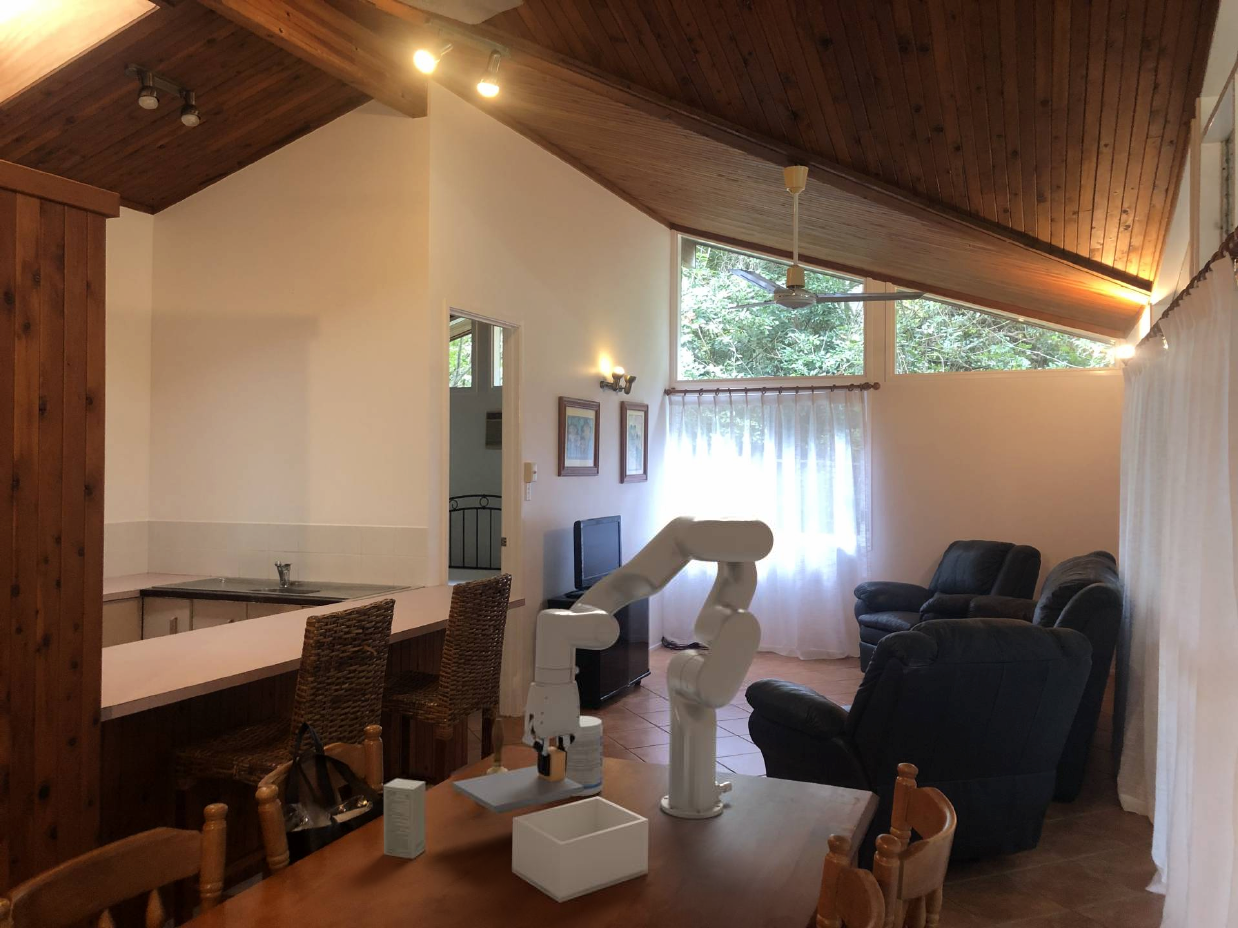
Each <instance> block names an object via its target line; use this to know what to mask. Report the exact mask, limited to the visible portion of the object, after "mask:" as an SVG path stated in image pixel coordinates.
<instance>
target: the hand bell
mask: <svg viewBox="0 0 1238 928" xmlns="http://www.w3.org/2000/svg"><path fill="white" fill-rule="evenodd" d="M491 739H492V745H493V763H492V764H493V765H492V767H490V768H488V769H487V770H486V775H491V774H496V773H501V772H506V771H509V770H508V769H507V768H505V767H504V766H503V764H502V757H503V756H502V754H503V753H502V750H503V745H504V742H505V728H504V724H503V719H502V718H495V719H494V724H493V727H492V731H491Z"/></svg>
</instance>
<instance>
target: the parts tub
mask: <svg viewBox="0 0 1238 928" xmlns="http://www.w3.org/2000/svg"><path fill="white" fill-rule="evenodd" d="M511 847H512V853H511V854H512V855H511V859H512V860H511V872H512V873H513V874H515V876H516V875H517V876H518V877H519V878H520V879H522V880H524V881H525V882H527V883H528V884H530V885H531V886H533V887H534V888H536V889H537V890H539V891H541V892H543V893H544V894H546V895H547V896H548V897H550V898H552V899H553V900H555V901H557V902H558V903H559V904H560V903H564V902H566V901H569V900H571V899H572V900H573V899H574V898H578V897H580V896H583V895H587V894H591V893H593V892H596V891H599V890H602V889H604V888H607V887H611V886H614V885H617V884H620V883H623V882H626V881H628V880H632V879H635V878H638V877H641V876H643V875H647V874H648V873H649V871H648V870H649V868H648V866H649V819H648V818H647V817H644V816H641V815H640V814H638V813H635V812H633V811H630V810H629V809H627V808H624V807H622V806H620V805H618V804H616V803H614V802H611V801H609V800H608V799H605V798H603V797H601V796H595V797H594V796H592V797H590V798H586V799H582V800H581V799H580V800H578V801H573V802H570V803H567V804H563V805H558V806H555V807H550V808H547V809H546V808H545V809H542V810H540V811H535V812H532V813H531V812H529V813H527V814H523V815H520V816H515V817H513V818H512V846H511Z"/></svg>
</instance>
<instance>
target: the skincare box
mask: <svg viewBox="0 0 1238 928" xmlns="http://www.w3.org/2000/svg"><path fill="white" fill-rule="evenodd" d="M426 818H427V817H426V781H421V780H416V779H415V780H414V779H413V780H412V779H406V778H405V779H404V778H398V777H397V778H395V779H392V780H391V781H389V782H387V783H385V784H383V854H384V855H387V856H392V857H399V858H405V859H413V860H414V859H415V858H416V857H418V856H419V855H420V854H421V853H423V852H424V851H425V850H427V848H426V845H427V844H426V837H427V836H426V835H427V834H426V833H427V832H426V825H427V823H426Z"/></svg>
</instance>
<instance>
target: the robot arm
mask: <svg viewBox="0 0 1238 928" xmlns="http://www.w3.org/2000/svg"><path fill="white" fill-rule="evenodd" d="M773 546H774V534H773V531H772V530H771V528H770V526H769V525H768V524H766V522H764V521H762V520H759V519H756V518H748V517H746V518H745V517H738V516H737V517H736V516H725V517H722V518H710V517H699V516H689V515H688V516H687V515H682V516H677V517H675V518H673V519H672V520H670V521H669V522H668V523H667V524H666V525H665V526H664V527H662V529H661V530H660V531H659V532H658V533H657V534H656V535H655V536H654V537H652V539H651V540H650V541H649V542H648V543H647V544H646V545H645V546H643V548H641V549H640V550H639V551H638V552H637V553H636V554H635V555H634V557H632V558H631V559H630V560H629V561H628V562H627V563H625V564H623V565H621V566H620V567H618V568H617V569H615V570H614V571H612V572H611V573H610V574H608V575H606V576H605V577H603V578H601V579H600V580H599V581H597V582H596V583H595V584H593V585H592V586H591V587H590V588H589V589H588V590H586V591H585V593H583V595H582V596H580V598H579V599H578V600H576V601H575V602H574V604H572V606H571V607H570V608H569V609H564V608H560V609H559V608H549V609H547V608H546V609H543V610H541V611H540V612H539V613H538V614H537V616H536V617H537V618H536V633H535V636H536V638H535V662H534V663H535V669H534V682H531V683H530V686H529V689H528V694H527V699H526V705H525V714H524V734H523V735H522V736H523V737H522V739H521V740H522V743H523V744H526V745H529V746H531V747H532V748H533V749H534V751H535V752H536V753H537V762H536V763H537V764H536V765H537V769H538V773H540V774H542V775H544V776H546V777H547V776H549V775H550V755H549V754H548V749H549V747H550V739H551V738H556V748H557V749H559V750H562V751H564V752H566V755H565V772H566V765H567V751H569V750H570V745H571V744H572V743H573V741H574V740H575V738H577V737H578V736H579V735H580V734H582V732H583V731H582V728H581V726H580V716H581V715H580V714H581V713H580V712H581V707H580V704H581V703H580V694H579V693H580V692H579V689H578V683H577V681H576V680H575V677H576V674H579V672H580V668H579V667H578V666H576V649H586V650H605V649H607V648H610V647H611V646H612V645H614V644H615V643H616V642H617V640H618V639H619V635H620V632H621V631H620V630H621V629H620V625H619V622H618V620H617V619H616V618H615V616H614V614H615V613H617V612H618V611H619V610H621V609H622V608H623V607H625V606H627V605H629V604H630V603H633V602H635V601H640V600H642V599H646V598H650V597H652V596H655V595H657V594H659V593H660V592H662V590H663V589H664V588H666V586H667V585H668V584H669V583H670V582H671V581H673V579H674V578H675V577H676V576H677V575H678V574H679V573H680V572H681V571H682V570H683V569H684V568H685V567H686V566H687V565H688V564H689V563H690V562H691V561H692V560H693V561H698V562H706V563H708V562H709V563H710V562H711V563H717V573H716V577H715V580H714V581H713V584H712V586H711V589H710V591H709V593H708V595H707V597H706V599H705V601H704V603H703V606H702V607H701V609H700V611H699V613H698V616H697V618H696V620H695V624H694V636H695V638H696V639H697V641H698V642H699V643H700V644H702V645H703V646H705V647H707V648H709V649H708V651H707V652H706V653H705V652H702V651H700V650H696V649H684V650H681V651H679V652H677V653H675V654H674V655H673V656H672V658H670V661H669V662H668V665H667V668H666V676H665V679H666V689H667V696H668V703H669V730H668V731H669V733H668V734H669V738H668V739H669V742H668V743H669V745H668V749H669V750H668V794H667V795H665V796H663V797H662V798H661V800H660V808H661V810H662V811H663V812H665V813H666V814H669V815H671V816H673V817H677V818H683V819H693V820H695V819H697V820H700V819H708V818H713V817H716V816H718V815H720V814H721V813H723V810H724V802H723V801H722V800H721V799H720V796H721V795H722V794H725V793H728V792H731V791H732V790H733V786H732V783H731V782H730V781H726V782H723V783H720V784H719V783H718V781H717V780H716V778H717V774H716V773H717V731H718V723H717V722H718V717H717V710H718V709H723V708H725V707H726V706H727V705H729V704H730V703H731V702H732V701H733V700H734V699H735V698H736V696H737V694H738V692H739V691H740V688H741V687H742V685H743V682H744V680H745V678H746V676H747V674H748V672H749V669H750V668H751V666H752V663H753V661H754V659H755V657H756V655H757V652H758V650H759V647H760V644H761V638H762V635H761V634H762V630H761V625H760V622H759V620H758V619H757V617H756V616H755V615H754V614H753V613H752V612H750V611H749V608H750V605H751V603H752V600H753V598H754V595H755V593H756V590H757V586H758V572H757V571H758V570H757V565H756V562H759V561H762V560H763V559H765V558H766V557H767V556H768V555H769V554H770V553H771V551H772V549H773ZM716 709H717V710H716ZM534 736H535V738H534Z"/></svg>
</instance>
